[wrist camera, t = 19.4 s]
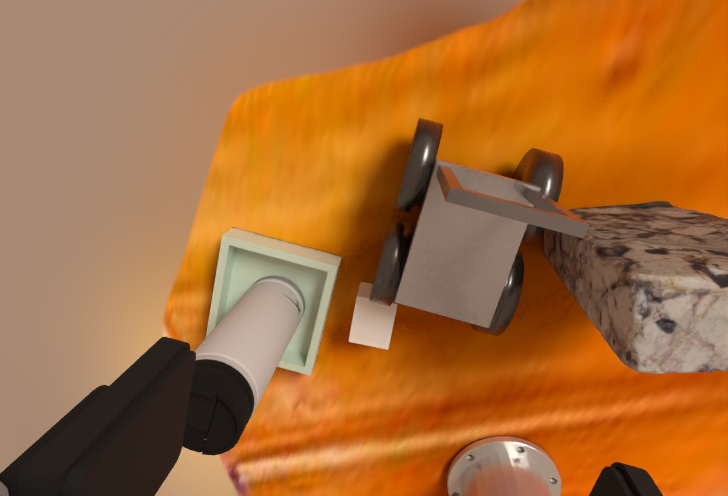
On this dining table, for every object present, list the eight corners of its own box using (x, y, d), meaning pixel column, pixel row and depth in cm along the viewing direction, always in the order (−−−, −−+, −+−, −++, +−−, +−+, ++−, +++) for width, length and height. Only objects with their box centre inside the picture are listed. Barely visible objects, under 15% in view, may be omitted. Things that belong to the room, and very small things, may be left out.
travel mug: (314, 284, 48) (251, 401, 29) (296, 336, 50) (225, 479, 31) (257, 263, 48) (156, 367, 29) (241, 317, 50) (137, 447, 31)
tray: (316, 360, 51) (310, 375, 49) (215, 333, 52) (204, 346, 49) (342, 256, 48) (337, 266, 45) (233, 227, 48) (222, 235, 45)
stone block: (541, 273, 46) (633, 391, 27) (536, 205, 44) (630, 280, 25) (685, 255, 44) (892, 367, 25) (686, 182, 42) (910, 245, 23)
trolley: (485, 312, 48) (533, 449, 29) (372, 282, 48) (347, 397, 29) (544, 150, 43) (652, 186, 24) (418, 116, 43) (424, 125, 24)
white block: (389, 331, 50) (388, 349, 46) (353, 323, 50) (348, 341, 46) (398, 288, 48) (397, 303, 44) (360, 281, 48) (356, 296, 45)
